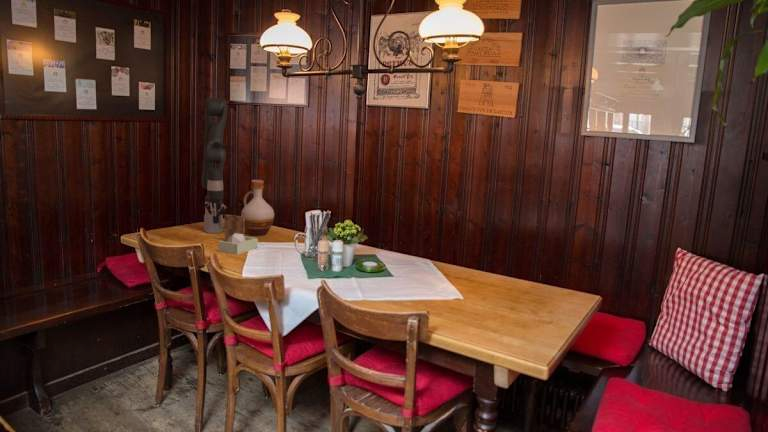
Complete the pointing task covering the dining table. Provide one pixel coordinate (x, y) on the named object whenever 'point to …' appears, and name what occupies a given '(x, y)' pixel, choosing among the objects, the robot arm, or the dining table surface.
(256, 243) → the tray
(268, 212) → the jug
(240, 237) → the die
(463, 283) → the dining table surface
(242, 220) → the menu board
